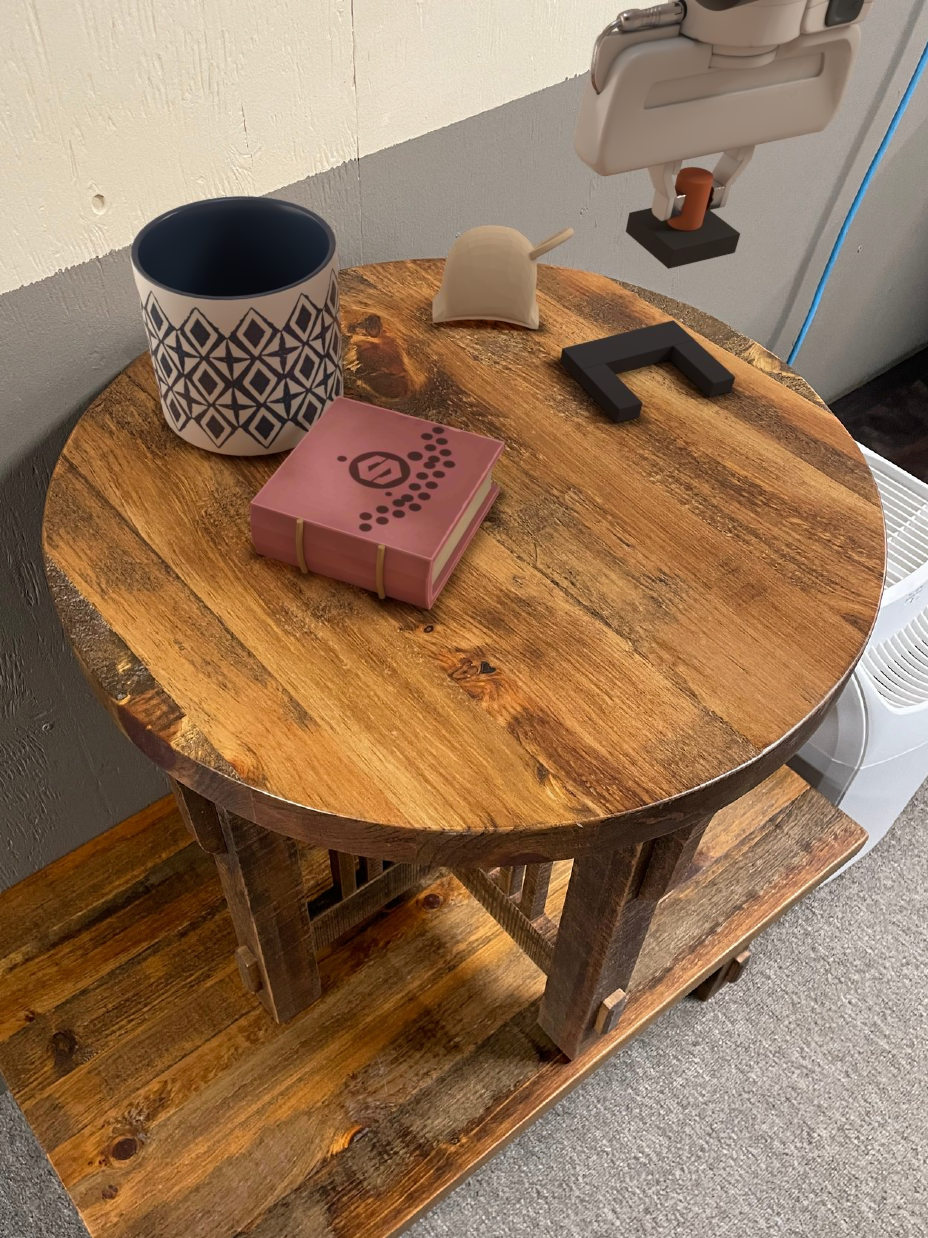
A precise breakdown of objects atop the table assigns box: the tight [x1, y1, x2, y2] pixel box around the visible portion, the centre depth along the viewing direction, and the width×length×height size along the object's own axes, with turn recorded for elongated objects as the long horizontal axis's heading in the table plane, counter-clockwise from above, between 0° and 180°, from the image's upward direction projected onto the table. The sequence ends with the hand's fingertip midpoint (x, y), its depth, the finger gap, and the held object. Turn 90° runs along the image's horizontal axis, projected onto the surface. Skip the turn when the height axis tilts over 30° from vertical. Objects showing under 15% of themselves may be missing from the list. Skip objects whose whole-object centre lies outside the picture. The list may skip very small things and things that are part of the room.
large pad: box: [559, 319, 736, 424], centre depth 90 cm, size 12×10×2 cm
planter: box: [130, 195, 344, 457], centre depth 82 cm, size 16×16×14 cm
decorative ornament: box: [431, 224, 575, 330], centre depth 94 cm, size 6×12×8 cm, turn 84°
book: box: [249, 396, 506, 611], centre depth 76 cm, size 14×15×5 cm
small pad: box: [625, 166, 741, 270], centre depth 74 cm, size 6×6×5 cm
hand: (687, 210), depth 74 cm, fingers closed on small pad, 2 cm apart
